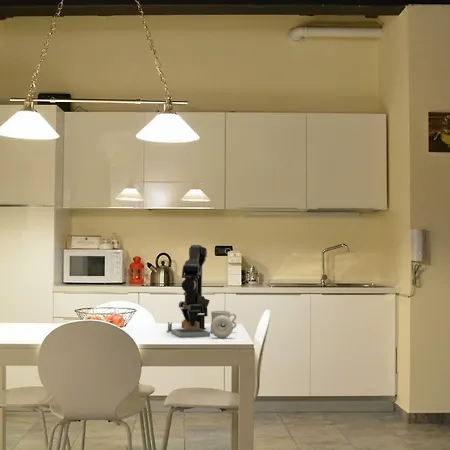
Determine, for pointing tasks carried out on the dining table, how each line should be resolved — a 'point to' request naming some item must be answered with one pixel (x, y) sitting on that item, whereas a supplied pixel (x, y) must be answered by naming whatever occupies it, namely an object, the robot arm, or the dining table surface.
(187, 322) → the ring
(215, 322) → the grey wheel
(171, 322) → the metal knob
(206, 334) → the tray
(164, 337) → the dining table surface
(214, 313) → the mug
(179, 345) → the dining table surface
